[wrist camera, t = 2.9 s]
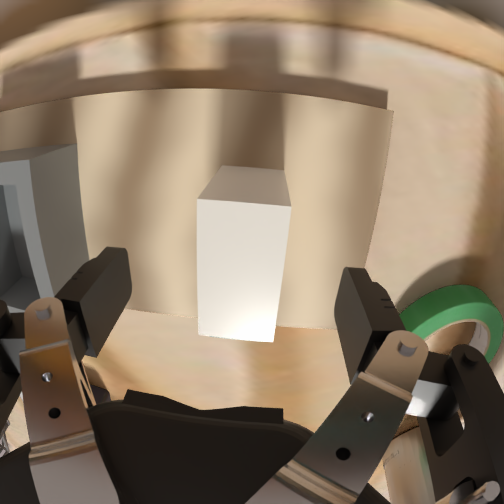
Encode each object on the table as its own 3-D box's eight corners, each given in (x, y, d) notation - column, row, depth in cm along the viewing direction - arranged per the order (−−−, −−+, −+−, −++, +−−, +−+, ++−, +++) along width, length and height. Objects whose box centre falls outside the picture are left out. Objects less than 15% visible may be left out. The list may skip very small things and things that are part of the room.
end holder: (77, 143, 16) (29, 159, 12) (96, 294, 20) (66, 335, 16) (-1, 151, 16) (-46, 168, 12) (23, 281, 20) (-9, 313, 16)
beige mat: (387, 110, 15) (393, 111, 14) (343, 320, 21) (346, 330, 20) (-12, 115, 15) (-21, 117, 15) (14, 279, 22) (8, 285, 21)
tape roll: (366, 391, 25) (371, 414, 23) (386, 289, 20) (398, 312, 18) (467, 372, 24) (477, 391, 22) (503, 276, 19) (521, 293, 17)
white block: (284, 170, 16) (291, 206, 11) (272, 276, 19) (272, 347, 13) (222, 165, 16) (197, 198, 11) (218, 271, 19) (198, 339, 13)
